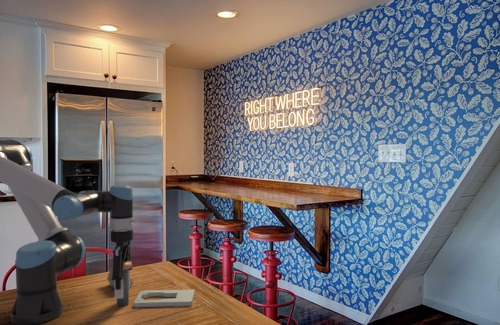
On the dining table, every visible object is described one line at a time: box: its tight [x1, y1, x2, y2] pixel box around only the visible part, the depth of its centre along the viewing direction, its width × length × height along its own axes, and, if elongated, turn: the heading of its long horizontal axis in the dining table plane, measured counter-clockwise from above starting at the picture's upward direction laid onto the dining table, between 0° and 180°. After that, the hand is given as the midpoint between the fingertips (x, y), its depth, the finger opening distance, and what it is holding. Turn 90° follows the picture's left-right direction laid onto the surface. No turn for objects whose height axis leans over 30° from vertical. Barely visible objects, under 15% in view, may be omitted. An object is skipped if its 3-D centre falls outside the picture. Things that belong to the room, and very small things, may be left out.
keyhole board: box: [133, 289, 196, 308], centre depth 143 cm, size 20×12×2 cm, turn 93°
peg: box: [116, 260, 133, 307], centre depth 139 cm, size 6×6×14 cm
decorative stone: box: [106, 266, 134, 289], centre depth 157 cm, size 8×14×8 cm, turn 37°
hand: (122, 293), depth 139 cm, fingers open, 9 cm apart
